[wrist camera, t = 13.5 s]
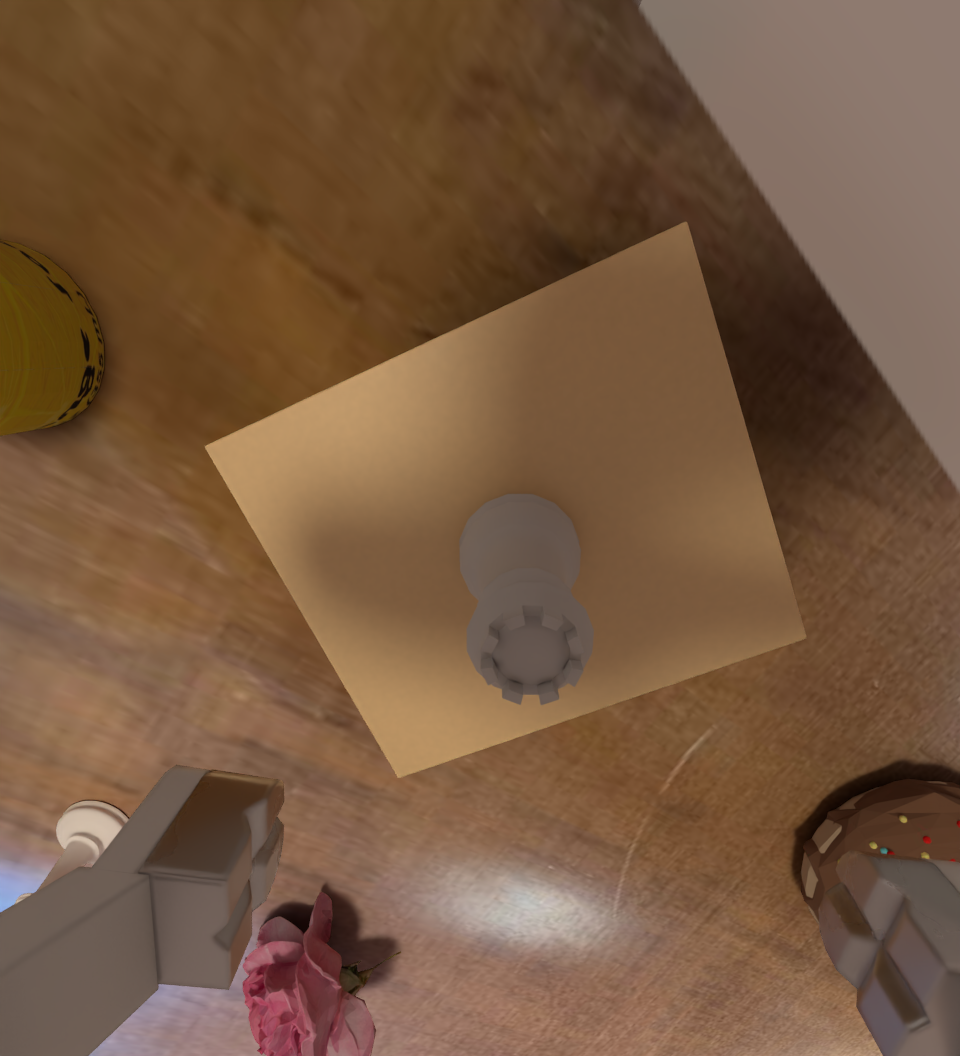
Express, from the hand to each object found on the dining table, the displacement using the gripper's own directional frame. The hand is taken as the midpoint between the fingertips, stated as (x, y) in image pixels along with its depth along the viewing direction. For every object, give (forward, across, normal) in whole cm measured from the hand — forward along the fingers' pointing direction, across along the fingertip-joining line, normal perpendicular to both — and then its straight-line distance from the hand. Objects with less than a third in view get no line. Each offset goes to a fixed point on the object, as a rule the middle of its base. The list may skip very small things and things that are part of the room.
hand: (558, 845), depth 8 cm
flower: (+22, +9, +36) cm, 43 cm away
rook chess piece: (+14, 0, 0) cm, 14 cm away
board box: (+22, 0, 0) cm, 23 cm away
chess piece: (+22, +24, +28) cm, 43 cm away
